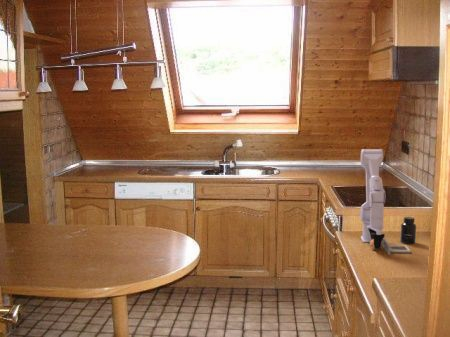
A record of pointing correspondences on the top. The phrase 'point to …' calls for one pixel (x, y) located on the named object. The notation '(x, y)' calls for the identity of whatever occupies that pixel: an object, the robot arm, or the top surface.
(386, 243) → the grey wall
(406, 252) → the mat
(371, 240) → the coral ball
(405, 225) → the supplement bottle
